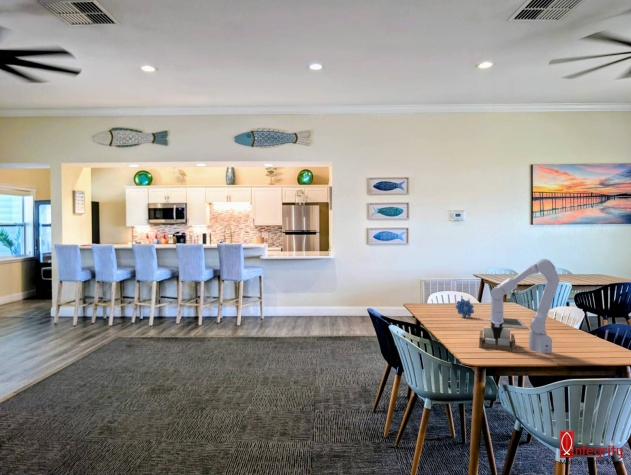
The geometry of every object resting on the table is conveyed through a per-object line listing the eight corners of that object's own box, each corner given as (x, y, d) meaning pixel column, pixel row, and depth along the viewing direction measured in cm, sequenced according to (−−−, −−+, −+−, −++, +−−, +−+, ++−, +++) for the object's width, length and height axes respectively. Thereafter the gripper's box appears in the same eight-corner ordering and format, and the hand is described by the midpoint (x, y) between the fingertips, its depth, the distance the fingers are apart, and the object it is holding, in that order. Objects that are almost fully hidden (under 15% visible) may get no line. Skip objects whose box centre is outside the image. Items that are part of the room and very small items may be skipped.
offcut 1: (495, 348, 192) (495, 340, 192) (485, 347, 194) (485, 339, 194) (495, 347, 195) (495, 338, 195) (485, 345, 197) (485, 337, 196)
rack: (515, 353, 187) (515, 341, 187) (478, 349, 194) (478, 337, 194) (513, 340, 209) (513, 329, 209) (480, 336, 216) (480, 326, 216)
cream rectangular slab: (510, 345, 197) (510, 329, 197) (483, 342, 202) (483, 327, 202) (509, 344, 198) (510, 328, 198) (483, 342, 203) (483, 326, 203)
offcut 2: (509, 350, 190) (509, 340, 190) (498, 348, 192) (498, 339, 192) (509, 348, 192) (509, 339, 192) (497, 347, 194) (498, 338, 194)
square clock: (492, 320, 258) (496, 328, 238) (492, 316, 258) (497, 323, 238) (518, 322, 253) (526, 330, 233) (518, 317, 253) (526, 325, 233)
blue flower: (456, 318, 261) (456, 299, 261) (454, 315, 268) (455, 298, 267) (475, 318, 259) (475, 300, 258) (473, 316, 265) (473, 298, 265)
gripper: (488, 308, 208) (488, 333, 208) (488, 313, 195) (487, 341, 195) (503, 309, 205) (503, 335, 205) (504, 314, 192) (503, 342, 192)
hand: (496, 338), depth 200 cm, fingers open, 7 cm apart
